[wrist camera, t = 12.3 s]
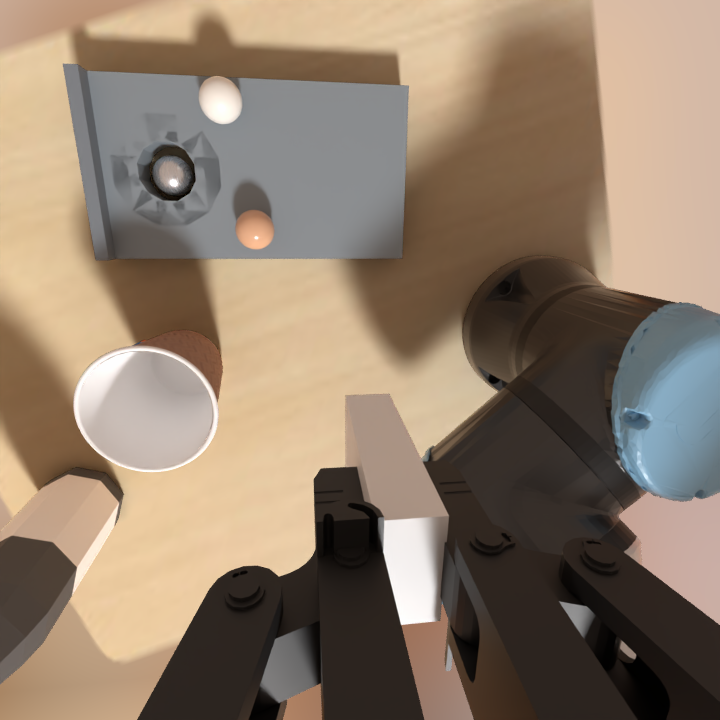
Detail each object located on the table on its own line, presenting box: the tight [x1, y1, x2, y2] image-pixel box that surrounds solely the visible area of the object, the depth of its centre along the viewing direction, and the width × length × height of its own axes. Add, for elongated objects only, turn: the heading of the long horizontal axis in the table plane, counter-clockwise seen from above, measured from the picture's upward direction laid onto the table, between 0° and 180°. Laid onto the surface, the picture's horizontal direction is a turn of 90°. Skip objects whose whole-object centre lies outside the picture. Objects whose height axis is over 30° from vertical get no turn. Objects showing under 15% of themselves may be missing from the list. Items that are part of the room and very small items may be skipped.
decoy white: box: [199, 76, 242, 124], centre depth 34 cm, size 3×3×3 cm
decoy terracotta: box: [235, 210, 275, 249], centre depth 37 cm, size 3×3×3 cm
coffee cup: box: [73, 330, 223, 472], centre depth 39 cm, size 10×10×12 cm
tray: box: [63, 64, 409, 260], centre depth 38 cm, size 26×14×4 cm, turn 89°
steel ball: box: [153, 155, 193, 196], centre depth 38 cm, size 3×3×3 cm
